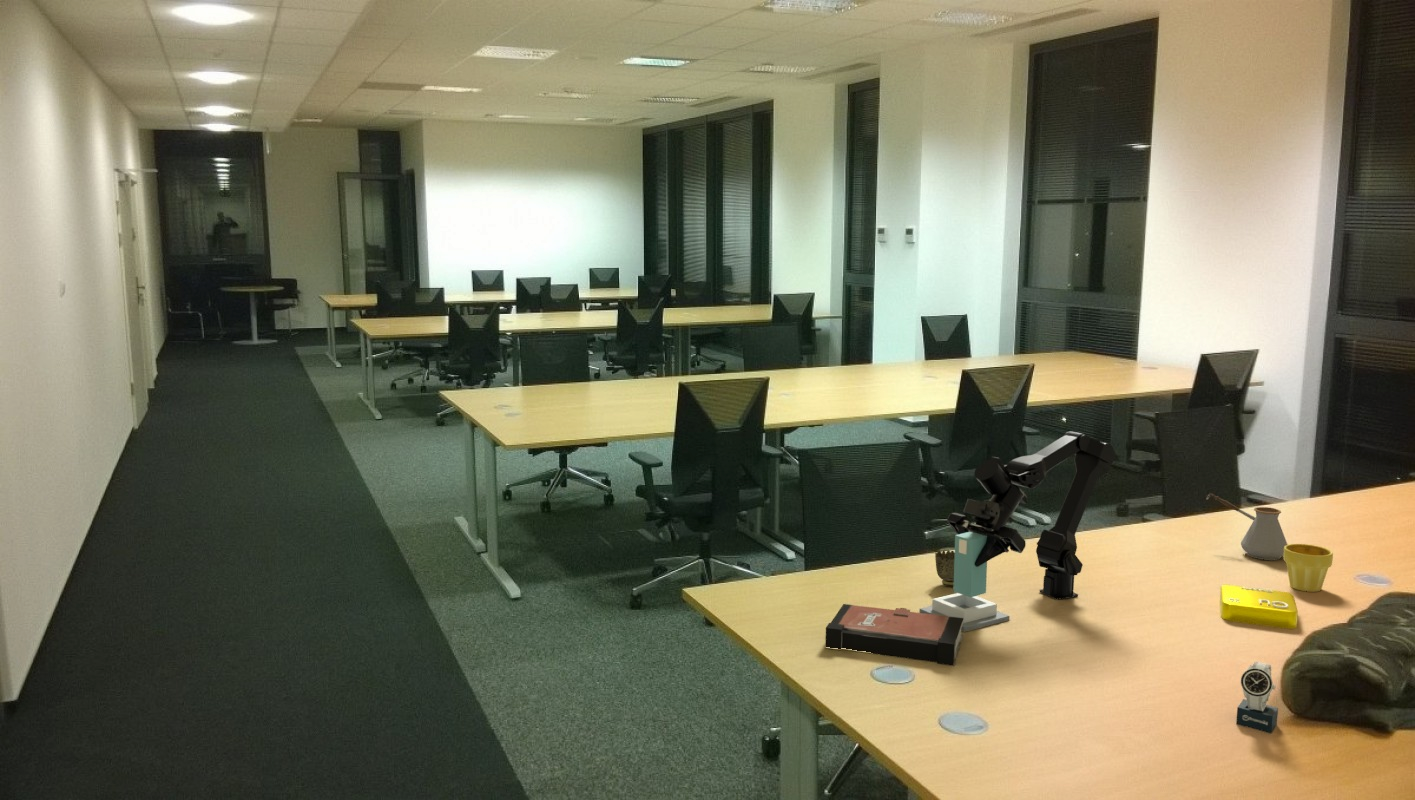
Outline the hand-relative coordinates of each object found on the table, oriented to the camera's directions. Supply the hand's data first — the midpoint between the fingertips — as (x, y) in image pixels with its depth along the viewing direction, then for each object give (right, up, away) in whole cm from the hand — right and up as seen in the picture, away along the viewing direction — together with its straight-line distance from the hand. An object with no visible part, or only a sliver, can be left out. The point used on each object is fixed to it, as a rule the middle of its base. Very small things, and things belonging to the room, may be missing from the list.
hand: (966, 562), depth 228 cm
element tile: (+68, -13, +6) cm, 69 cm away
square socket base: (+1, -13, +5) cm, 14 cm away
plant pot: (+89, -10, +24) cm, 93 cm away
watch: (+39, -21, -48) cm, 65 cm away
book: (-18, -16, -10) cm, 26 cm away
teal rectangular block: (+1, -7, +2) cm, 7 cm away
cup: (+2, -10, +26) cm, 28 cm away
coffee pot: (+90, -6, +53) cm, 104 cm away
